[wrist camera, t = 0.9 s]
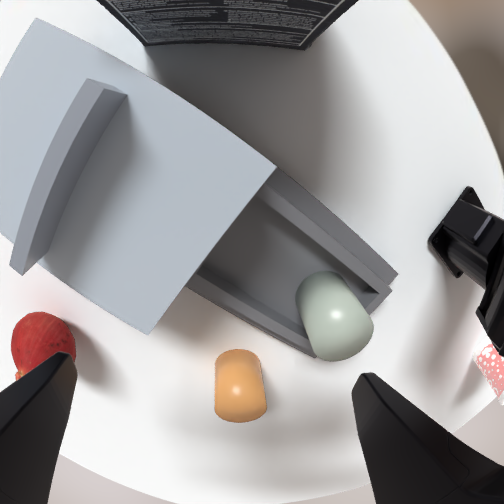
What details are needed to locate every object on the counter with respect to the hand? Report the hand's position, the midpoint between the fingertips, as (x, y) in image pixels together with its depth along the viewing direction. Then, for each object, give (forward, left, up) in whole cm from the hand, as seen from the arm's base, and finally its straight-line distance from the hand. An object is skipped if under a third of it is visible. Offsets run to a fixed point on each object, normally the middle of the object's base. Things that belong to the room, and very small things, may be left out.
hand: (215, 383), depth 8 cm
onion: (+7, +15, -13) cm, 21 cm away
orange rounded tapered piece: (-8, +9, -13) cm, 18 cm away
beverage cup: (-38, -7, -13) cm, 41 cm away
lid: (+8, -1, -12) cm, 14 cm away
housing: (+1, -1, -13) cm, 13 cm away
